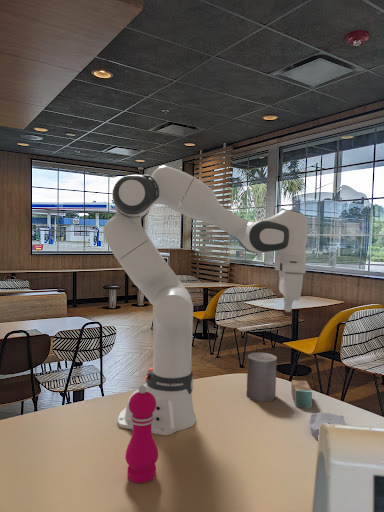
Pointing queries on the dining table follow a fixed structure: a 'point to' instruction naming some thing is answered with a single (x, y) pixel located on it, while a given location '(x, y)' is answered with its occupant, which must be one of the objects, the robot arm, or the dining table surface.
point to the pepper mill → (142, 438)
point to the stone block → (324, 421)
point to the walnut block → (301, 393)
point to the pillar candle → (261, 377)
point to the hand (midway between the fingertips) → (287, 311)
